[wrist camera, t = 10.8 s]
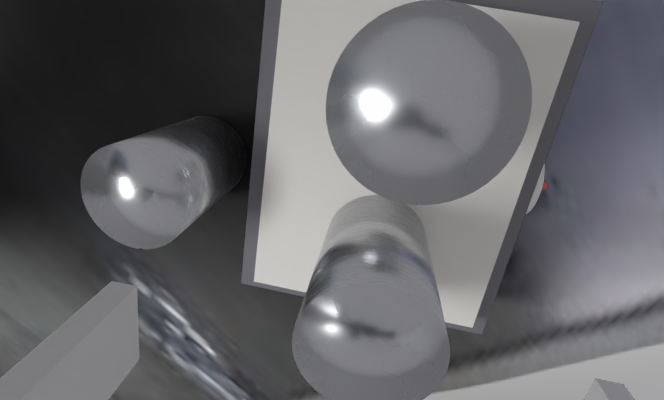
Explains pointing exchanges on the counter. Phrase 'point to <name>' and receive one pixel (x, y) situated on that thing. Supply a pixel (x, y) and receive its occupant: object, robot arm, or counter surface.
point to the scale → (341, 187)
